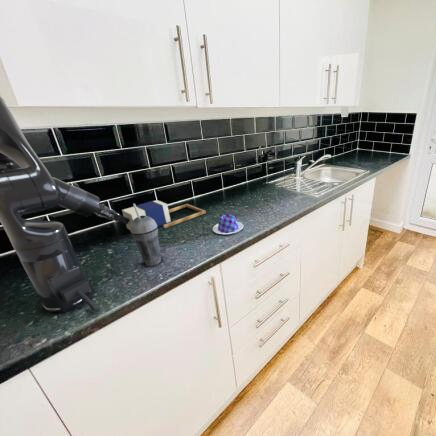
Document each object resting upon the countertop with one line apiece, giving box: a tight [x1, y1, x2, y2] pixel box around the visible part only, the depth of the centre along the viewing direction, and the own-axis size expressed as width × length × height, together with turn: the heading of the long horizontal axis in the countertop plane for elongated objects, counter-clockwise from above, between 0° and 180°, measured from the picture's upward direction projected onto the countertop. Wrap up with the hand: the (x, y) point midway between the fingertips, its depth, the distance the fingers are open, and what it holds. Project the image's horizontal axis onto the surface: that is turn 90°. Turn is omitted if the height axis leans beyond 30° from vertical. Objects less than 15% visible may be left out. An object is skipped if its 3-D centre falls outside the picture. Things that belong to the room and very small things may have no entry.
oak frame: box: [162, 203, 207, 229], centre depth 113 cm, size 20×15×1 cm
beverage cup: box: [130, 203, 162, 267], centre depth 77 cm, size 7×7×20 cm
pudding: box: [212, 213, 245, 235], centre depth 101 cm, size 12×12×5 cm
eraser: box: [121, 199, 172, 231], centre depth 104 cm, size 14×8×8 cm, turn 144°
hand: (127, 221), depth 98 cm, fingers closed
